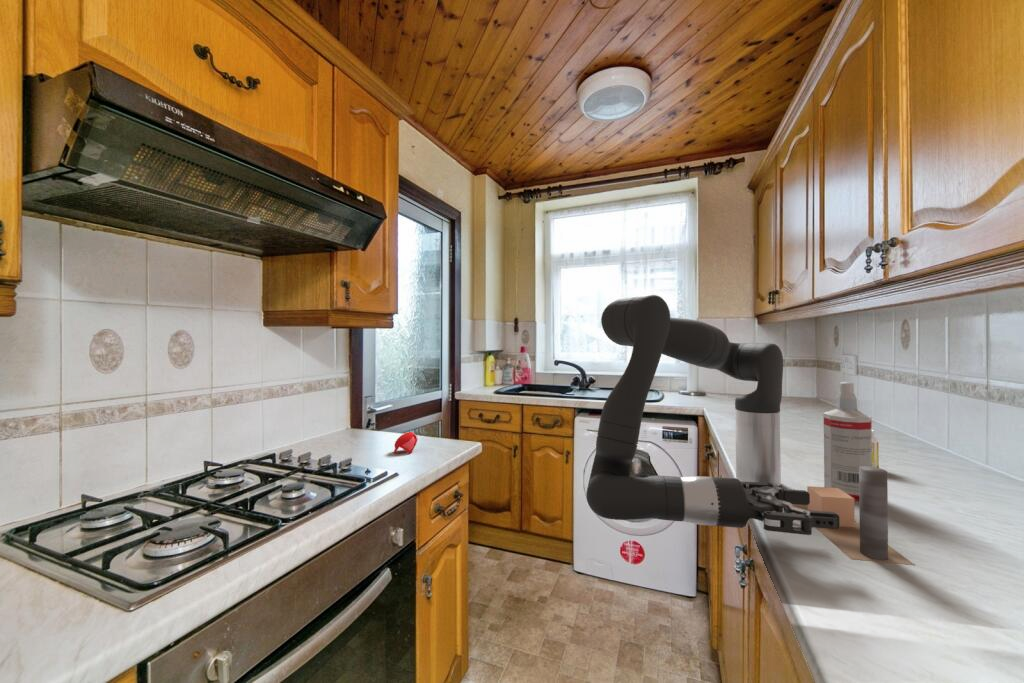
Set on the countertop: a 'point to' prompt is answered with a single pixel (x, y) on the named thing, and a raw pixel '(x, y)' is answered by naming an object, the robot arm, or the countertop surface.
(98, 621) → the countertop surface
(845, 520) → the terracotta block
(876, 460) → the supplement bottle
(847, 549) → the pull strip
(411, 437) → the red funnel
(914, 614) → the countertop surface
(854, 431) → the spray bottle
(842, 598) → the countertop surface
